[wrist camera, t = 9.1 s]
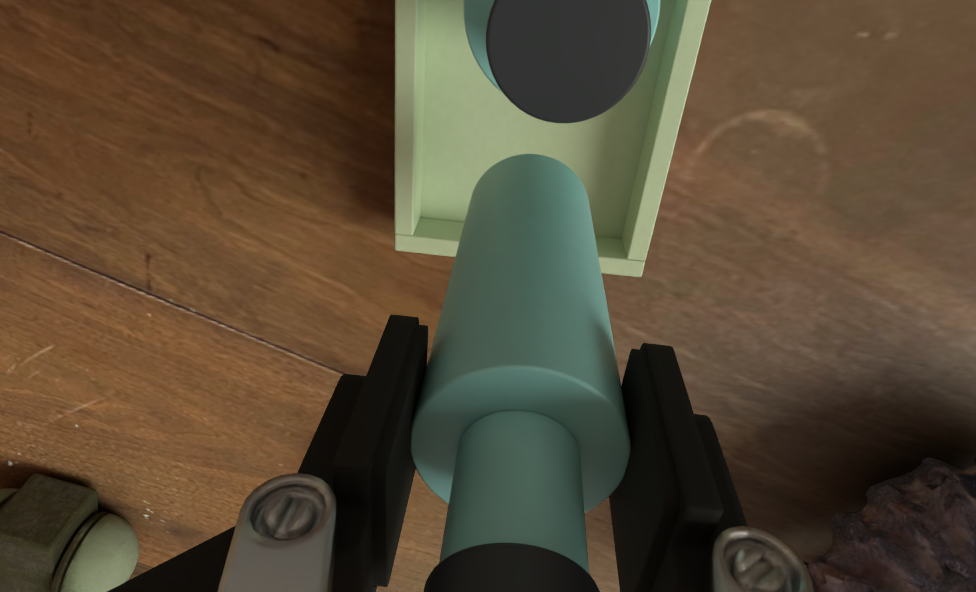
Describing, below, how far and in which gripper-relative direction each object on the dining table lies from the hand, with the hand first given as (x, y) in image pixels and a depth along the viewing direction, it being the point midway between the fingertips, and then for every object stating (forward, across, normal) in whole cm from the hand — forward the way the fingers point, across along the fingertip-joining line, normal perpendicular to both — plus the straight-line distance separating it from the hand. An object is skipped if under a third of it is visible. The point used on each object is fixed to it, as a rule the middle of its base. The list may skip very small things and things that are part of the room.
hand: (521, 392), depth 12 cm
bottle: (+9, 0, 0) cm, 9 cm away
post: (+13, +27, +41) cm, 51 cm away
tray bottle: (+15, 0, -7) cm, 17 cm away
